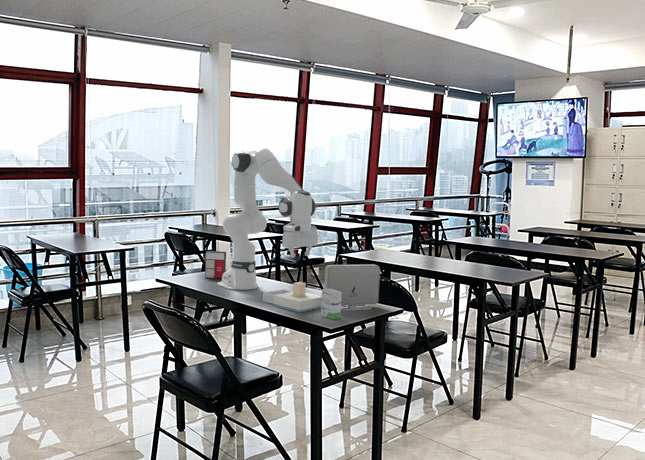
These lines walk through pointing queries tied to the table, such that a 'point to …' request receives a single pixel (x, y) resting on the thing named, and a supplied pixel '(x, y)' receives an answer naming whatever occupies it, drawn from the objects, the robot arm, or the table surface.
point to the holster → (273, 295)
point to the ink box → (331, 303)
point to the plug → (299, 289)
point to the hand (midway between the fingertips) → (300, 256)
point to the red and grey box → (215, 264)
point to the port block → (298, 302)
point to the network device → (354, 284)
